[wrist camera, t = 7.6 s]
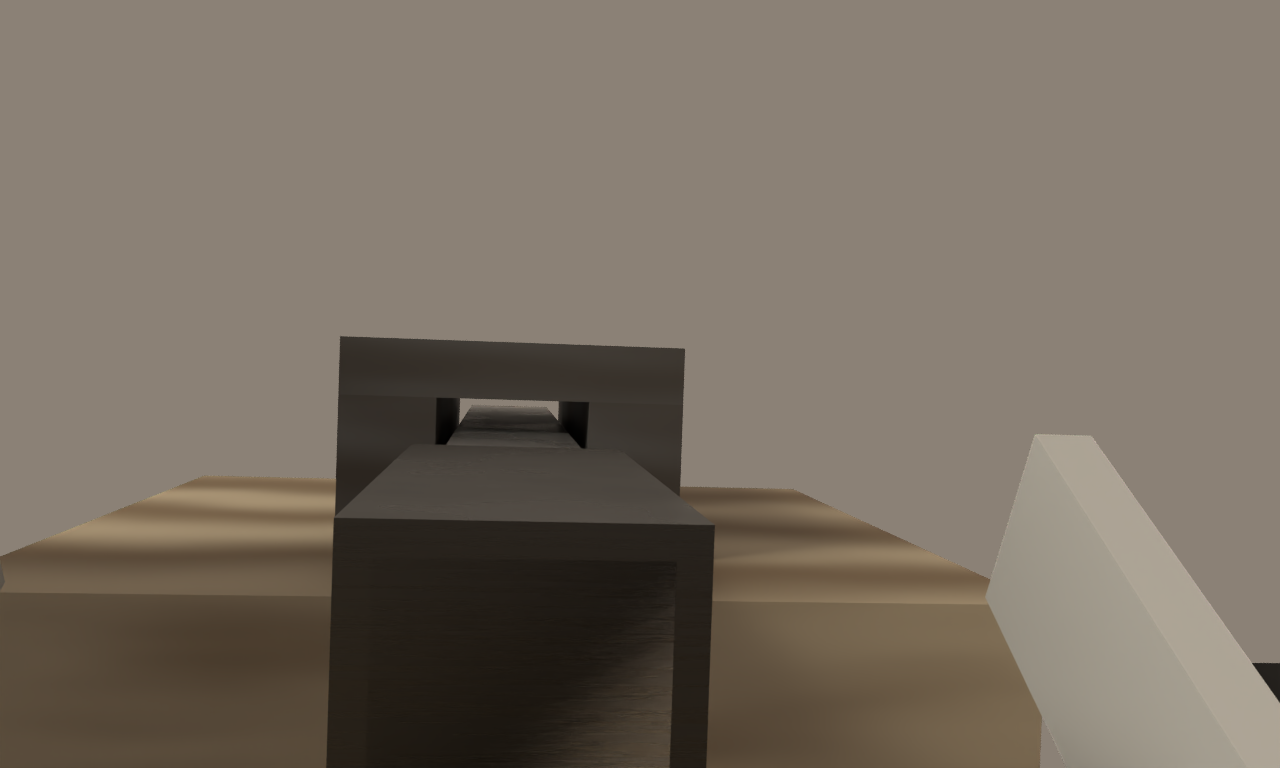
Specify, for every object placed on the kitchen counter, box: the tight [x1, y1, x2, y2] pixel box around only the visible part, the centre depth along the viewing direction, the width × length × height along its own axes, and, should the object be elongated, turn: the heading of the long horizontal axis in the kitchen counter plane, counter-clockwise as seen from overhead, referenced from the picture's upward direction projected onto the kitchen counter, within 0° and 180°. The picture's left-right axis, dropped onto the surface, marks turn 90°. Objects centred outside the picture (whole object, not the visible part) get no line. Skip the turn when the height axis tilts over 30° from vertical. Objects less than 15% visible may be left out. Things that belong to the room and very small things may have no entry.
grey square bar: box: [326, 405, 715, 768], centre depth 24 cm, size 30×3×3 cm, turn 6°
